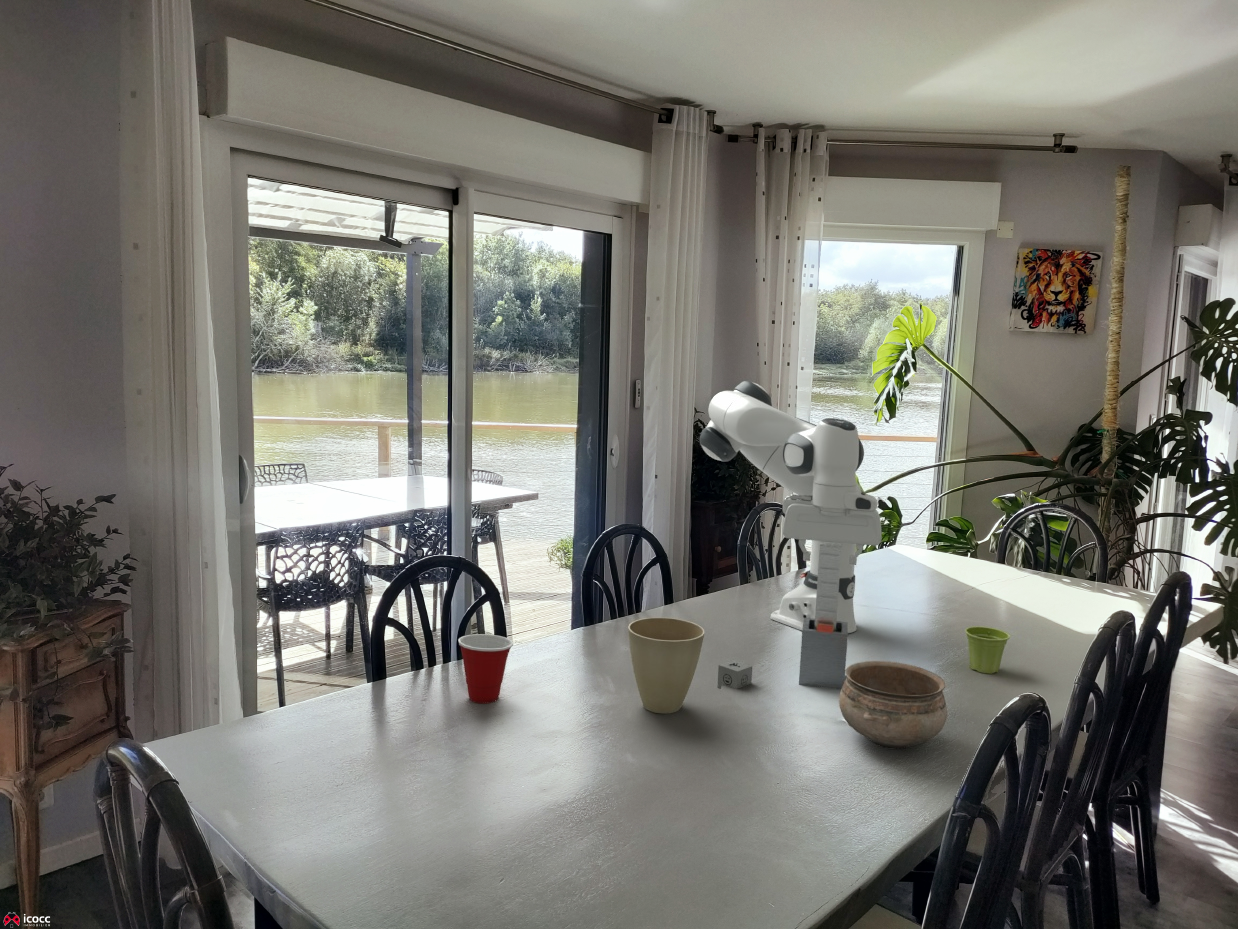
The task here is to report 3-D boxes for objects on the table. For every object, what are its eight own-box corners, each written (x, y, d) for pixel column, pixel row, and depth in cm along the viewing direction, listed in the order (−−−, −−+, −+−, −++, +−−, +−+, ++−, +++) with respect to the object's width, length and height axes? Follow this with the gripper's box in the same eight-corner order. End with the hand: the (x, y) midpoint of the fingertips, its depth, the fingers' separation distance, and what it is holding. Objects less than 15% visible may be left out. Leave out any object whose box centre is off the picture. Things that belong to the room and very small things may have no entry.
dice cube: (732, 682, 193) (733, 659, 192) (751, 689, 189) (752, 666, 189) (717, 687, 189) (718, 664, 189) (736, 694, 186) (737, 671, 185)
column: (813, 640, 189) (819, 546, 187) (814, 633, 194) (820, 542, 192) (835, 642, 188) (841, 548, 186) (835, 635, 193) (841, 543, 191)
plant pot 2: (1010, 678, 201) (1013, 641, 200) (965, 674, 203) (969, 636, 202) (1001, 664, 210) (1004, 628, 209) (958, 660, 212) (962, 624, 211)
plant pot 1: (648, 727, 168) (651, 644, 166) (612, 698, 181) (614, 621, 179) (715, 714, 175) (719, 635, 173) (675, 688, 188) (679, 614, 186)
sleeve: (780, 693, 187) (785, 626, 185) (785, 668, 203) (789, 605, 201) (860, 703, 183) (865, 634, 182) (859, 676, 199) (863, 613, 197)
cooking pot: (925, 782, 150) (931, 711, 149) (816, 752, 160) (820, 685, 159) (957, 731, 171) (963, 669, 170) (859, 707, 181) (863, 649, 180)
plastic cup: (523, 698, 180) (524, 640, 178) (480, 713, 172) (482, 652, 170) (488, 683, 187) (489, 627, 185) (445, 697, 179) (446, 638, 177)
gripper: (782, 495, 187) (778, 561, 189) (884, 503, 183) (879, 570, 184) (784, 491, 193) (780, 554, 195) (883, 498, 189) (878, 563, 190)
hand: (829, 562), depth 190 cm, fingers open, 8 cm apart
